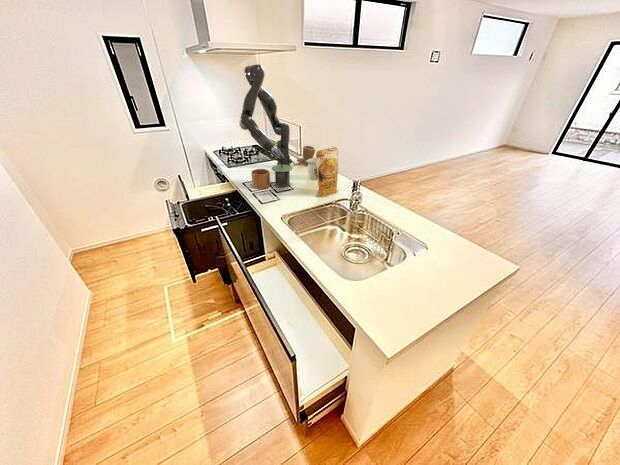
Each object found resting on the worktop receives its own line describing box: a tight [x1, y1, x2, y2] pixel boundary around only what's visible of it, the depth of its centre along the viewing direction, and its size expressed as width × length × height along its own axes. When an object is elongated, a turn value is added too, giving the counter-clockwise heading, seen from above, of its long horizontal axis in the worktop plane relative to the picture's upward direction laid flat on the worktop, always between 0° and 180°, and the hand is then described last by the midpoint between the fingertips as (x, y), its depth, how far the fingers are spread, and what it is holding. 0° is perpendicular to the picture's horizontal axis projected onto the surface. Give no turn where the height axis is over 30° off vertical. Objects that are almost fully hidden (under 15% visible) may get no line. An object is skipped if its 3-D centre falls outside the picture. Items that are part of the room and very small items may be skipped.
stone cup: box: [296, 145, 316, 167], centre depth 211 cm, size 15×12×15 cm
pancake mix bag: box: [315, 146, 339, 198], centre depth 158 cm, size 7×19×28 cm, turn 127°
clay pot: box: [250, 168, 271, 190], centre depth 171 cm, size 12×12×10 cm
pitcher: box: [306, 157, 318, 181], centre depth 185 cm, size 11×18×14 cm, turn 124°
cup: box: [274, 171, 291, 188], centre depth 173 cm, size 10×10×10 cm
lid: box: [271, 154, 293, 173], centre depth 168 cm, size 14×14×10 cm
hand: (284, 162), depth 168 cm, fingers closed on lid, 3 cm apart
